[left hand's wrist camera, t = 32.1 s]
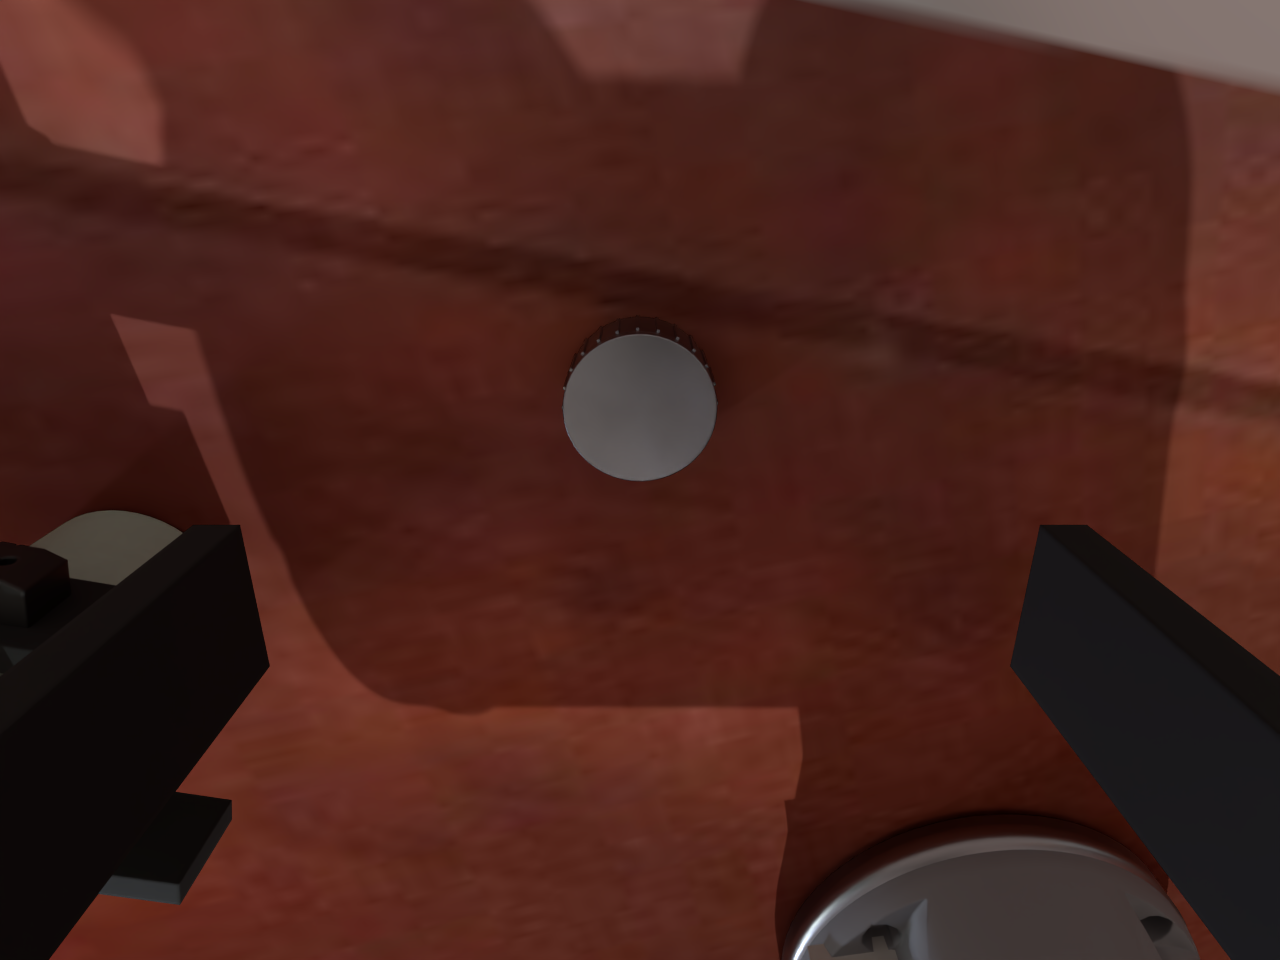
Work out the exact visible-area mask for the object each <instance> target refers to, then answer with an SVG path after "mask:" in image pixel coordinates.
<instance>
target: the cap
mask: <svg viewBox="0 0 1280 960" xmlns="http://www.w3.org/2000/svg"><path fill="white" fill-rule="evenodd" d="M715 385H716V383H715V380H714V377H713V374H712V371H711V368H710V367H708V363H707V360H706V357H705V354H704V351H703V350H700V349H699V347H698V346H697V344H696V343H695V342H694V341H693V338H692V336H691V335H690V336H688V335H687V334H686V333H685V332H683V331H682V330H681V329H679V328H677V325H676V324H674V325H672V324H670V323H668V322H665V321H662V320H659V318H658V317H656V319H654V318H649V317H639V315H636V317H632V318H626V319H621V320H620V318H619V319H617V321H615V322H612V323H610V324H608V325H606V326H604V327H602V326H601V327H599V330H598V331H597V332H595V333H594V334H593V335H592V336H591V337H590V338H589V339H587V338H586V339H585V340H584V344H583V346H582V347H581V349H580V350H579V352H578V354H576V353H575V355H574V357H573V360H572V364H571V367H570V370H569V371H568V374H567V378H566V381H565V384H564V387H563V390H565V392H564V397H563V404H562V409H563V417H564V423H565V427H566V430H567V433H568V435H569V438H570V440H571V442H572V443H573V445H574V447H575V448H576V449H577V451H578V452H579V453H580V454H581V456H582V457H583V458H584V459H585V460H586V461H587V462H588V463H590V464H591V465H592V466H594V467H595V468H597V469H598V470H600V471H602V472H604V473H606V474H608V475H610V476H613V477H616V478H620V479H623V480H630V481H651V480H656V479H661V478H664V477H667V476H670V475H672V474H674V473H676V472H678V471H680V470H682V469H683V468H685V467H686V466H688V465H689V464H690V463H691V462H692V461H694V460H695V459H696V458H697V456H698V455H699V454H700V453H701V452H702V451H703V449H704V448H705V446H706V445H707V443H708V441H709V439H710V437H711V435H712V432H713V430H714V427H715V422H716V418H717V405H718V400H717V397H716V393H715V388H714V386H715Z"/></svg>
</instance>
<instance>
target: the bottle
mask: <svg viewBox="0 0 1280 960" xmlns="http://www.w3.org/2000/svg"><path fill="white" fill-rule="evenodd" d="M181 534H182V532H181V531H179V530H178V529H176V528H175V527H173V526H171V525H169V524H167V523H165V522H163V521H160V520H158V519H155V518H152V517H150V516H146V515H143V514H139V513H134V512H128V511H116V510H108V511H96V512H91V513H86V514H83V515H80V516H78V517H75V518H73V519H71V520H69V521H67V522H65V523H64V524H62V525H61V526H59V527H58V528H56V529H55V530H53V531H52V532H50V533H48V534H47V535H45V536H44V537H42V538H41V539H39V540H38V541H36V542H35V543H33V544H32V545H30V546H31V547H37V548H43V549H46V550H48V551H50V552H52V553H54V554H56V555H59V556H61V557H63V558H65V559H67V560H68V567H69V577H70V578H74V579H80V580H87V581H93V582H99V583H105V584H111V585H117V584H119V583H120V582H121V581H122V580H124V579H125V578H126V577H127V576H129V575H130V574H131V573H133V572H134V571H135V570H136V569H138V568H139V567H140V566H141V565H143V564H144V563H145V562H147V561H148V560H149V559H150V558H152V557H153V556H154V555H156V554H157V553H158V552H159V551H161V550H162V549H163V548H164V547H166V546H167V545H168V544H170V543H171V542H172V541H173V540H175V539H176V538H177V537H178V536H180V535H181ZM2 674H3V673H0V676H1V675H2Z"/></svg>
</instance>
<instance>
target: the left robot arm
mask: <svg viewBox="0 0 1280 960" xmlns="http://www.w3.org/2000/svg"><path fill="white" fill-rule="evenodd" d="M269 667H270V665H269V660H268V655H267V651H266V646H265V641H264V637H263V632H262V627H261V622H260V618H259V613H258V608H257V603H256V599H255V594H254V589H253V585H252V580H251V575H250V570H249V566H248V561H247V556H246V552H245V547H244V542H243V537H242V533H241V528H240V525H192V526H191V527H190V528H189V529H187V530H186V531H185V532H184V533H182V534H181V535H180V536H178V537H177V538H176V539H175V540H173V541H172V542H171V543H170V544H168V545H167V546H166V547H164V548H163V549H162V550H161V551H159V552H158V553H157V554H156V555H154V556H153V557H152V558H150V559H149V560H148V561H147V562H145V563H144V564H143V565H141V566H140V567H139V568H138V569H136V570H135V571H134V572H133V573H131V574H130V575H129V576H127V577H126V578H125V579H124V580H122V581H121V582H120V583H119V584H117V585H116V586H115V587H113V588H112V589H111V590H110V591H108V592H107V593H106V594H105V595H103V596H102V597H101V598H99V599H98V600H97V601H96V602H94V603H93V604H92V605H90V606H89V607H88V608H87V609H85V610H84V611H83V612H82V613H80V614H79V615H78V616H76V617H75V618H74V619H73V620H71V621H70V622H69V623H68V624H66V625H65V626H64V627H62V628H61V629H60V630H59V631H57V632H56V633H55V634H54V635H52V636H51V637H50V638H48V639H47V640H46V641H45V642H43V643H42V644H41V645H39V646H38V647H37V648H36V649H34V650H33V651H32V652H31V653H29V654H28V655H27V656H25V657H24V658H23V659H22V660H20V661H19V662H18V663H17V664H15V665H14V666H13V667H11V668H10V669H9V670H8V671H6V672H5V673H4V674H2V675H1V676H0V960H49V959H50V957H51V956H52V955H53V953H54V952H55V951H56V949H57V948H58V947H59V945H60V944H61V943H62V941H63V940H64V939H65V937H66V936H67V935H68V933H69V932H70V931H71V929H72V928H73V927H74V925H75V924H76V923H77V921H78V920H79V919H80V917H81V916H82V915H83V914H84V912H85V911H86V910H87V908H88V907H89V906H90V904H91V903H92V902H93V900H94V899H95V898H96V896H97V895H98V894H99V892H100V891H101V890H102V888H103V887H104V886H105V884H106V883H107V882H108V880H109V879H110V878H111V876H112V875H113V874H114V872H115V871H116V870H117V868H118V867H119V866H120V864H121V863H122V862H123V860H124V859H125V858H126V856H127V855H128V854H129V852H130V851H131V850H132V848H133V847H134V846H135V844H136V843H137V842H138V840H139V839H140V838H141V836H142V835H143V834H144V833H145V831H146V830H147V829H148V827H149V826H150V825H151V823H152V822H153V821H154V819H155V818H156V817H157V815H158V814H159V813H160V811H161V810H162V809H163V807H164V806H165V805H166V803H167V802H168V801H169V799H170V798H171V797H172V795H173V794H174V793H175V791H176V790H177V789H178V787H179V786H180V785H181V783H182V782H183V781H184V779H185V778H186V777H187V775H188V774H189V773H190V771H191V770H192V769H193V767H194V766H195V765H196V763H197V762H198V761H199V759H200V758H201V757H202V755H203V754H204V753H205V752H206V750H207V749H208V748H209V746H210V745H211V744H212V742H213V741H214V740H215V738H216V737H217V736H218V734H219V733H220V732H221V730H222V729H223V728H224V726H225V725H226V724H227V722H228V721H229V720H230V718H231V717H232V716H233V714H234V713H235V712H236V710H237V709H238V708H239V706H240V705H241V704H242V702H243V701H244V700H245V698H246V697H247V696H248V694H249V693H250V692H251V690H252V689H253V688H254V686H255V685H256V684H257V682H258V681H259V680H260V678H261V677H262V676H263V674H264V673H265V672H266V671H267V669H268V668H269ZM1010 667H1011V668H1012V669H1013V671H1014V672H1015V673H1016V674H1017V676H1018V677H1019V678H1020V680H1021V681H1022V682H1023V684H1024V685H1025V686H1026V688H1027V689H1028V690H1029V692H1030V693H1031V694H1032V696H1033V697H1034V698H1035V700H1036V701H1037V702H1038V704H1039V705H1040V706H1041V708H1042V709H1043V710H1044V712H1045V713H1046V714H1047V716H1048V717H1049V718H1050V720H1051V721H1052V722H1053V724H1054V725H1055V726H1056V728H1057V729H1058V730H1059V732H1060V733H1061V734H1062V736H1063V737H1064V738H1065V740H1066V741H1067V742H1068V744H1069V745H1070V746H1071V748H1072V749H1073V750H1074V752H1075V753H1076V754H1077V755H1078V757H1079V758H1080V759H1081V761H1082V762H1083V763H1084V765H1085V766H1086V767H1087V769H1088V770H1089V771H1090V773H1091V774H1092V775H1093V777H1094V778H1095V779H1096V781H1097V782H1098V783H1099V785H1100V786H1101V787H1102V789H1103V790H1104V791H1105V793H1106V794H1107V795H1108V797H1109V798H1110V799H1111V801H1112V802H1113V803H1114V805H1115V806H1116V807H1117V809H1118V810H1119V811H1120V813H1121V814H1122V815H1123V817H1124V818H1125V819H1126V821H1127V822H1128V823H1129V825H1130V826H1131V827H1132V829H1133V830H1134V831H1135V833H1136V834H1137V835H1138V836H1139V838H1140V839H1141V840H1142V842H1143V843H1144V844H1145V846H1146V847H1147V848H1148V850H1149V851H1150V852H1151V854H1152V855H1153V856H1154V858H1155V859H1156V860H1157V862H1158V863H1159V864H1160V866H1161V867H1162V868H1163V870H1164V871H1165V872H1166V874H1167V875H1168V876H1169V878H1170V879H1171V880H1172V882H1173V883H1174V884H1175V886H1176V887H1177V888H1178V890H1179V891H1180V892H1181V894H1182V895H1183V896H1184V898H1185V899H1186V900H1187V902H1188V903H1189V904H1190V906H1191V907H1192V908H1193V910H1194V911H1195V912H1196V914H1197V915H1198V916H1199V917H1200V919H1201V920H1202V921H1203V923H1204V924H1205V925H1206V927H1207V928H1208V929H1209V931H1210V932H1211V933H1212V935H1213V936H1214V937H1215V939H1216V940H1217V941H1218V943H1219V944H1220V945H1221V947H1222V948H1223V949H1224V951H1225V952H1226V953H1227V955H1228V956H1229V957H1230V959H1231V960H1280V676H1279V675H1278V674H1276V673H1275V672H1274V671H1272V670H1271V669H1270V668H1269V667H1267V666H1266V665H1265V664H1263V663H1262V662H1261V661H1260V660H1258V659H1257V658H1256V657H1255V656H1253V655H1252V654H1251V653H1249V652H1248V651H1247V650H1246V649H1244V648H1243V647H1242V646H1241V645H1239V644H1238V643H1237V642H1235V641H1234V640H1233V639H1232V638H1230V637H1229V636H1228V635H1226V634H1225V633H1224V632H1223V631H1221V630H1220V629H1219V628H1218V627H1216V626H1215V625H1214V624H1212V623H1211V622H1210V621H1209V620H1207V619H1206V618H1205V617H1204V616H1202V615H1201V614H1200V613H1198V612H1197V611H1196V610H1195V609H1193V608H1192V607H1191V606H1190V605H1188V604H1187V603H1186V602H1184V601H1183V600H1182V599H1181V598H1179V597H1178V596H1177V595H1175V594H1174V593H1173V592H1172V591H1170V590H1169V589H1168V588H1167V587H1165V586H1164V585H1163V584H1161V583H1160V582H1159V581H1158V580H1156V579H1155V578H1154V577H1153V576H1151V575H1150V574H1149V573H1147V572H1146V571H1145V570H1144V569H1142V568H1141V567H1140V566H1139V565H1137V564H1136V563H1135V562H1133V561H1132V560H1131V559H1130V558H1128V557H1127V556H1126V555H1124V554H1123V553H1122V552H1121V551H1119V550H1118V549H1117V548H1116V547H1114V546H1113V545H1112V544H1110V543H1109V542H1108V541H1107V540H1105V539H1104V538H1103V537H1102V536H1100V535H1099V534H1098V533H1096V532H1095V531H1094V530H1093V529H1091V528H1090V527H1089V526H1088V525H1040V528H1039V533H1038V537H1037V542H1036V547H1035V552H1034V556H1033V561H1032V566H1031V570H1030V575H1029V580H1028V585H1027V589H1026V594H1025V599H1024V603H1023V608H1022V613H1021V618H1020V622H1019V627H1018V632H1017V637H1016V641H1015V646H1014V651H1013V655H1012V660H1011V665H1010ZM782 960H1200V958H1199V955H1198V952H1197V949H1196V946H1195V944H1194V942H1193V939H1192V937H1191V935H1190V933H1189V931H1188V929H1187V926H1186V924H1185V921H1184V920H1183V918H1182V916H1181V914H1180V912H1179V911H1178V909H1177V908H1176V906H1175V905H1174V903H1173V902H1172V901H1171V899H1170V898H1169V896H1168V895H1167V894H1166V892H1165V891H1164V889H1163V888H1162V886H1161V885H1160V884H1159V882H1158V881H1157V879H1156V878H1155V877H1154V875H1153V874H1152V873H1151V871H1150V870H1149V869H1148V867H1147V866H1146V865H1145V864H1144V863H1143V862H1142V861H1141V860H1140V859H1139V858H1138V857H1137V856H1136V855H1135V854H1134V853H1133V852H1131V851H1130V850H1129V849H1127V848H1126V847H1125V846H1123V845H1122V844H1120V843H1119V842H1117V841H1115V840H1114V839H1112V838H1110V837H1108V836H1106V835H1104V834H1102V833H1100V832H1098V831H1095V830H1093V829H1090V828H1087V827H1085V826H1082V825H1079V824H1076V823H1072V822H1068V821H1063V820H1059V819H1054V818H1048V817H1041V816H1032V815H1019V814H995V815H981V816H972V817H965V818H958V819H952V820H948V821H943V822H938V823H934V824H930V825H927V826H924V827H920V828H917V829H914V830H911V831H908V832H905V833H903V834H900V835H897V836H895V837H892V838H890V839H888V840H886V841H884V842H881V843H879V844H877V845H875V846H873V847H871V848H870V849H868V850H866V851H864V852H862V853H860V854H859V855H857V856H856V857H854V858H853V859H851V860H850V861H848V862H847V863H845V864H844V865H842V866H841V867H840V868H839V869H837V870H836V871H835V872H833V873H832V874H831V875H830V876H829V877H828V878H826V879H825V880H824V881H823V882H822V883H821V884H820V885H819V886H818V887H817V888H816V889H815V890H814V891H813V893H812V894H811V895H810V896H809V897H808V898H807V900H806V901H805V902H804V904H803V905H802V907H801V908H800V909H799V911H798V913H797V914H796V916H795V918H794V920H793V922H792V923H791V926H790V928H789V931H788V933H787V936H786V939H785V943H784V947H783V953H782Z"/></svg>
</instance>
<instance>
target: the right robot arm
mask: <svg viewBox="0 0 1280 960" xmlns="http://www.w3.org/2000/svg"><path fill="white" fill-rule="evenodd" d="M115 586H116V585H111V584H105V583H99V582H93V581H87V580H80V579H74V578H70V577H69V567H68V560H67V559H65V558H63V557H61V556H59V555H56V554H54V553H52V552H50V551H48V550H46V549H43V548H37V547H31V546H25V545H16V544H13V543H7V542H0V673H3V674H4V673H5V672H6V671H8V670H9V669H10V668H11V667H13V666H14V665H15V664H17V663H18V662H19V661H20V660H22V659H23V658H24V657H25V656H27V655H28V654H29V653H31V652H32V651H33V650H34V649H36V648H37V647H38V646H39V645H41V644H42V643H43V642H45V641H46V640H47V639H48V638H50V637H51V636H52V635H54V634H55V633H56V632H57V631H59V630H60V629H61V628H62V627H64V626H65V625H66V624H68V623H69V622H70V621H71V620H73V619H74V618H75V617H76V616H78V615H79V614H80V613H82V612H83V611H84V610H85V609H87V608H88V607H89V606H90V605H92V604H93V603H94V602H96V601H97V600H98V599H99V598H101V597H102V596H103V595H105V594H106V593H107V592H108V591H110V590H111V589H112V588H113V587H115ZM231 820H232V800H228V799H221V798H214V797H207V796H200V795H193V794H187V793H180V792H175V793H174V794H173V795H172V797H171V798H170V799H169V801H168V802H167V803H166V805H165V806H164V807H163V809H162V810H161V811H160V813H159V814H158V815H157V817H156V818H155V819H154V821H153V822H152V823H151V825H150V826H149V827H148V829H147V830H146V831H145V833H144V834H143V835H142V836H141V838H140V839H139V840H138V842H137V843H136V844H135V846H134V847H133V848H132V850H131V851H130V852H129V854H128V855H127V856H126V858H125V859H124V860H123V862H122V863H121V864H120V866H119V867H118V868H117V870H116V871H115V872H114V874H113V875H112V876H111V878H110V879H109V880H108V882H107V883H106V884H105V886H104V887H103V888H102V890H101V891H100V892H99V894H104V895H111V896H119V897H126V898H133V899H141V900H148V901H155V902H163V903H170V904H178V905H180V904H181V902H182V900H183V899H184V897H185V896H186V894H187V892H188V891H189V889H190V887H191V886H192V884H193V882H194V881H195V879H196V877H197V876H198V874H199V873H200V871H201V869H202V868H203V866H204V864H205V863H206V861H207V859H208V858H209V856H210V854H211V853H212V851H213V850H214V848H215V846H216V845H217V843H218V841H219V840H220V838H221V836H222V835H223V833H224V832H225V830H226V828H227V827H228V825H229V823H230V822H231Z"/></svg>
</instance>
